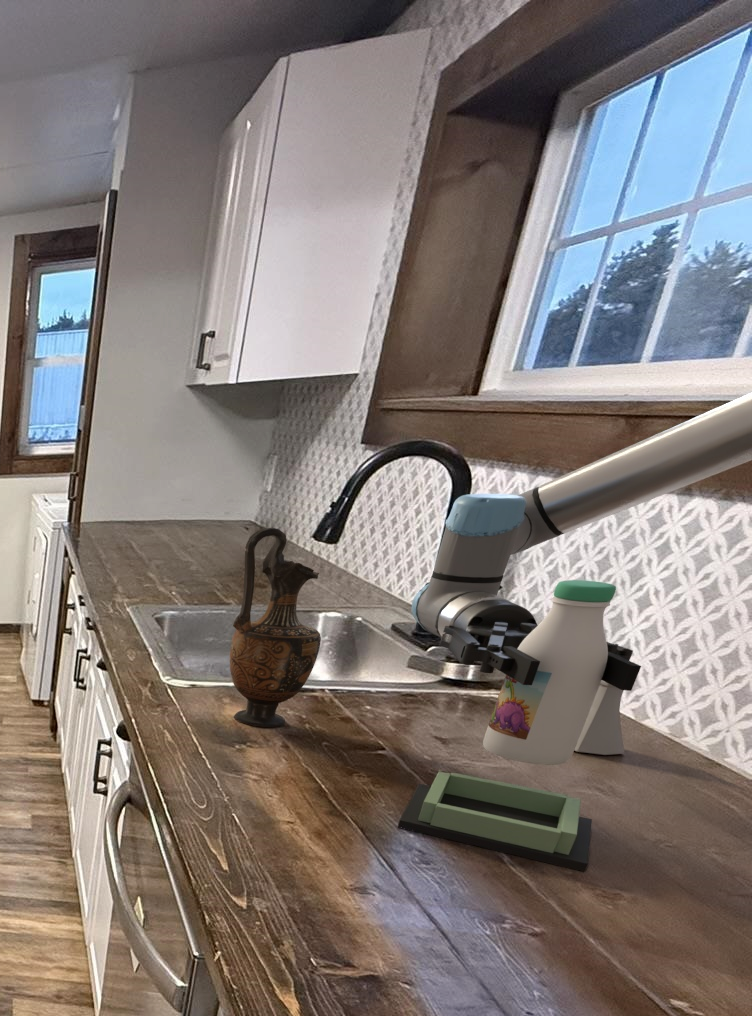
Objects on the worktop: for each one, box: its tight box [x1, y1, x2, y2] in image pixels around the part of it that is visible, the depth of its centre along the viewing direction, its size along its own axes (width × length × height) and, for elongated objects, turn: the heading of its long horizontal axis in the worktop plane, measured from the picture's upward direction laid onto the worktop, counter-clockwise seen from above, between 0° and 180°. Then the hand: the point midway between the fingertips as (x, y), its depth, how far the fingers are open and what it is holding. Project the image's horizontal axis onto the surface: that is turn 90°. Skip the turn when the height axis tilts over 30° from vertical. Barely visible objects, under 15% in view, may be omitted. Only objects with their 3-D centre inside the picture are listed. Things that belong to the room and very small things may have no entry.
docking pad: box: [397, 771, 593, 872], centre depth 96 cm, size 16×14×4 cm
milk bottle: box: [482, 579, 617, 766], centre depth 93 cm, size 8×8×20 cm
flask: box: [574, 680, 625, 756], centre depth 115 cm, size 7×7×10 cm
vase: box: [229, 527, 322, 728], centre depth 127 cm, size 12×12×30 cm
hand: (580, 675), depth 88 cm, fingers closed on milk bottle, 8 cm apart
